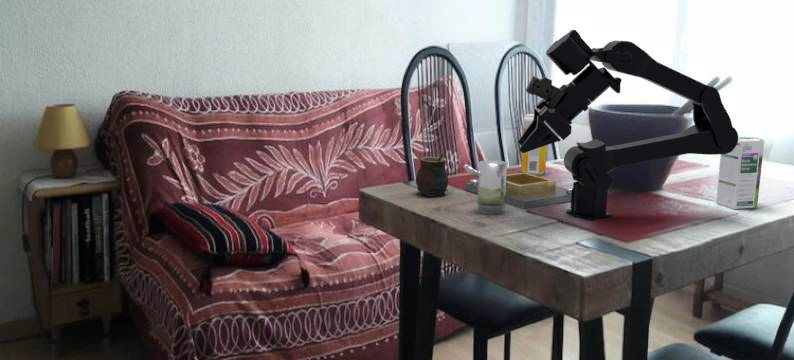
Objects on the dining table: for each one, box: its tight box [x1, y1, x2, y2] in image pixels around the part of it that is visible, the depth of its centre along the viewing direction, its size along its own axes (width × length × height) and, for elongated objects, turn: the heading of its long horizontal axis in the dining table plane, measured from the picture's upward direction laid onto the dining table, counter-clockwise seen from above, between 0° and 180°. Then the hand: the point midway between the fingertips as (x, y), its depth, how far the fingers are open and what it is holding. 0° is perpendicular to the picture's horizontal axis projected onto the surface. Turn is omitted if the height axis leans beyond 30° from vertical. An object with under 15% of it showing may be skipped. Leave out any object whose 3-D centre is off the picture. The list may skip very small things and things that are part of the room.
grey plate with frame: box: [464, 172, 573, 210], centre depth 153 cm, size 20×16×4 cm
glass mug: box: [463, 159, 508, 216], centre depth 138 cm, size 9×6×10 cm, turn 82°
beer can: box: [520, 113, 548, 176], centre depth 175 cm, size 6×6×15 cm
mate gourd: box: [415, 152, 449, 197], centre depth 152 cm, size 7×8×10 cm
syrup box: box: [715, 135, 765, 210], centre depth 144 cm, size 6×6×14 cm
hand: (520, 147), depth 136 cm, fingers open, 9 cm apart
